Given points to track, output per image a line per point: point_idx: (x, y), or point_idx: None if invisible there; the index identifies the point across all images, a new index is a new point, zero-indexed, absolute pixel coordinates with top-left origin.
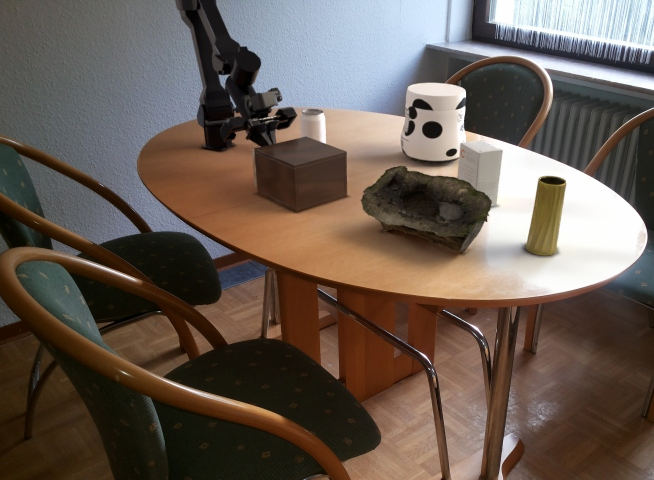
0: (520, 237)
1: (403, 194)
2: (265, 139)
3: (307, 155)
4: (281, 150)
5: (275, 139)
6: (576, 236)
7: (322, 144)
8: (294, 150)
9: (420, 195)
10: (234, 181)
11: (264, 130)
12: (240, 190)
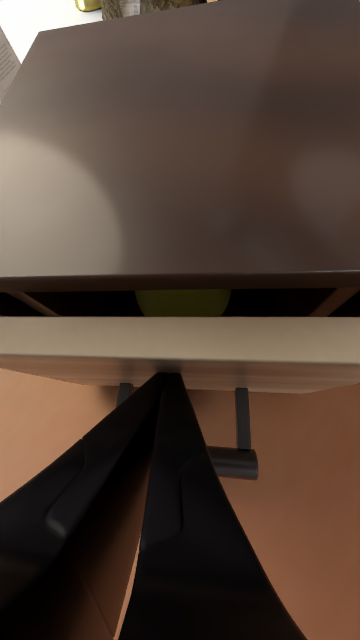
0: (79, 22)
1: (126, 4)
2: (209, 467)
3: (205, 37)
4: (278, 131)
5: (89, 436)
6: (38, 10)
7: (12, 118)
8: (207, 102)
9: (102, 6)
10: (326, 576)
11: (157, 611)
12: (349, 441)
